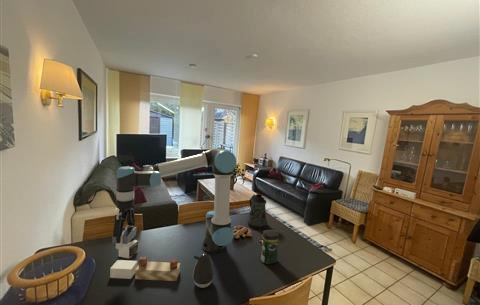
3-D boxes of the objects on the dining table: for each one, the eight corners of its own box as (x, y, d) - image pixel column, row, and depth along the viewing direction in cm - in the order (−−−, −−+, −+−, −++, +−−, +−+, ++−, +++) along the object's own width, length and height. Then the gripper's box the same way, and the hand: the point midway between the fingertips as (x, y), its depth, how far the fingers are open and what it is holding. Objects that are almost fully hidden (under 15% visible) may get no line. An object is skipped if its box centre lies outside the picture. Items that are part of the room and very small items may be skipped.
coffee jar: (272, 255, 128) (275, 227, 126) (278, 263, 121) (281, 233, 119) (258, 257, 126) (261, 228, 124) (263, 265, 118) (266, 234, 116)
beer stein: (261, 231, 158) (264, 200, 155) (240, 224, 168) (242, 194, 165) (270, 224, 172) (273, 195, 169) (250, 217, 182) (252, 190, 179)
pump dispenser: (193, 276, 106) (194, 248, 104) (213, 276, 107) (215, 248, 105) (190, 291, 96) (191, 260, 94) (212, 291, 97) (214, 261, 95)
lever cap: (136, 234, 106) (136, 224, 106) (127, 244, 97) (127, 233, 97) (122, 233, 106) (122, 224, 105) (112, 243, 97) (112, 232, 97)
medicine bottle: (129, 259, 115) (129, 238, 114) (118, 256, 117) (118, 236, 115) (137, 251, 122) (138, 232, 121) (127, 249, 124) (127, 230, 122)
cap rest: (137, 269, 107) (137, 260, 106) (131, 278, 101) (131, 269, 100) (117, 268, 107) (117, 259, 106) (110, 277, 100) (110, 268, 100)
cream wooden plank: (179, 272, 108) (180, 255, 107) (176, 280, 101) (177, 263, 100) (141, 270, 107) (141, 253, 106) (135, 279, 101) (135, 261, 100)
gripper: (128, 191, 110) (128, 231, 113) (103, 206, 89) (103, 255, 91) (143, 192, 110) (142, 232, 113) (121, 207, 89) (120, 256, 91)
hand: (124, 242), depth 102 cm, fingers closed on lever cap, 9 cm apart
